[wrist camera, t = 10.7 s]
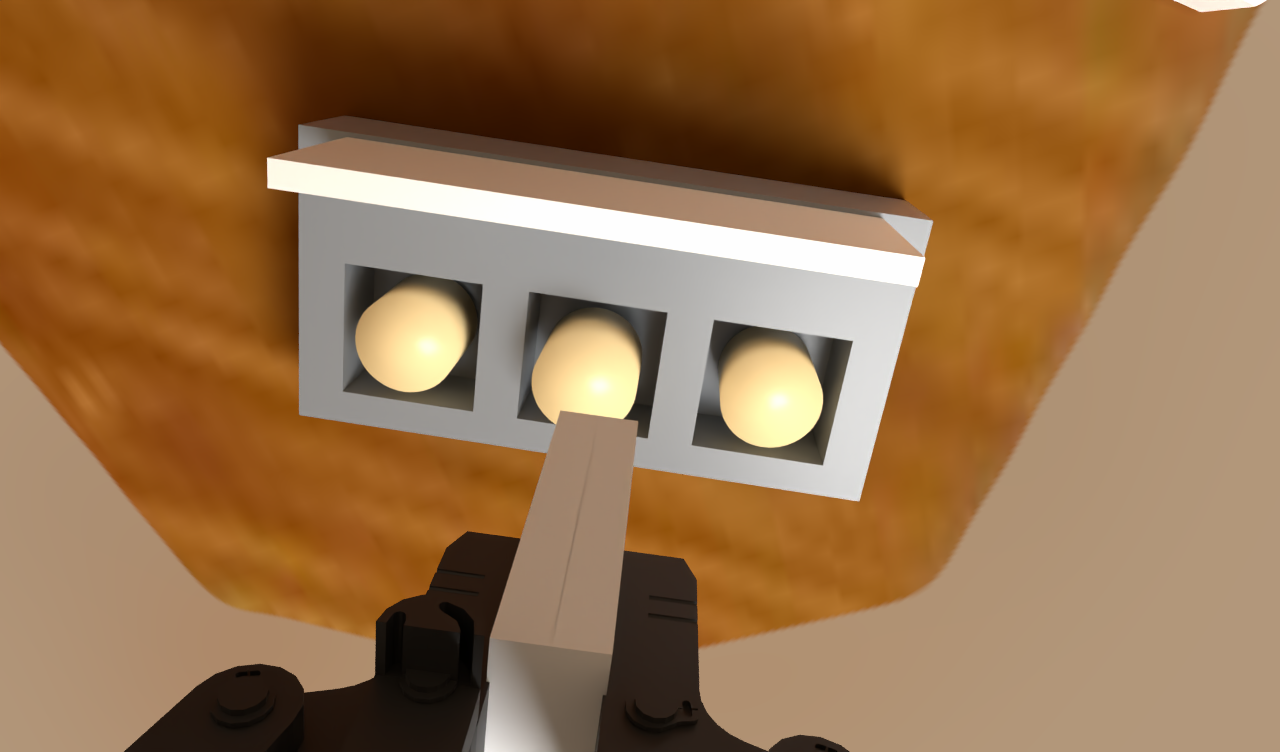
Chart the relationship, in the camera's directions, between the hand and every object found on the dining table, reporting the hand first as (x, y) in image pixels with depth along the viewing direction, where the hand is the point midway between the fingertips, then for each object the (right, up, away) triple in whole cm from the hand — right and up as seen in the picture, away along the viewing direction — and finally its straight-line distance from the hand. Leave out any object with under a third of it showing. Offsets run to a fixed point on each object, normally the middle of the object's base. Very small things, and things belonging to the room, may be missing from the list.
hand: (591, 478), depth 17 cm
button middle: (-1, +3, +23) cm, 23 cm away
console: (-1, +6, +25) cm, 26 cm away
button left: (-9, +5, +24) cm, 26 cm away
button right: (+7, +2, +24) cm, 25 cm away
